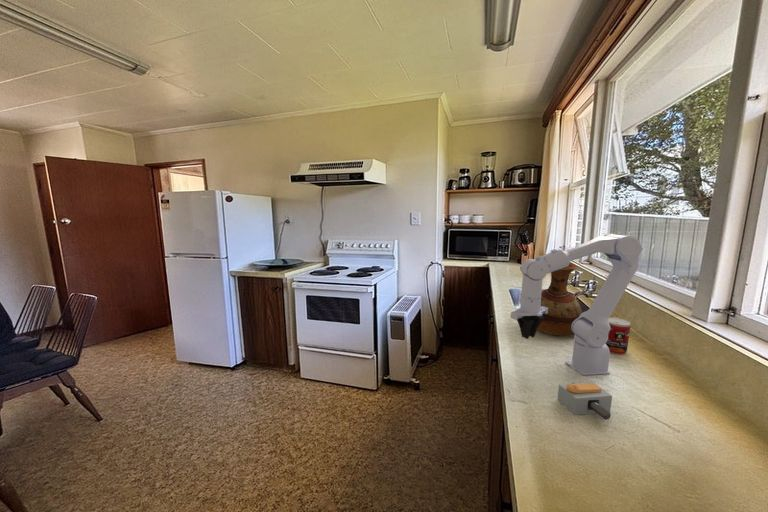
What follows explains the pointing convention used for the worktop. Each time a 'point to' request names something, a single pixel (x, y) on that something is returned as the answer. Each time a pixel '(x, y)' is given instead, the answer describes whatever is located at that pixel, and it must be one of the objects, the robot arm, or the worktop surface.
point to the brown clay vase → (559, 304)
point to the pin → (599, 409)
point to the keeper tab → (583, 388)
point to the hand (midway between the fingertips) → (527, 336)
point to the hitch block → (583, 400)
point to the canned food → (618, 335)
